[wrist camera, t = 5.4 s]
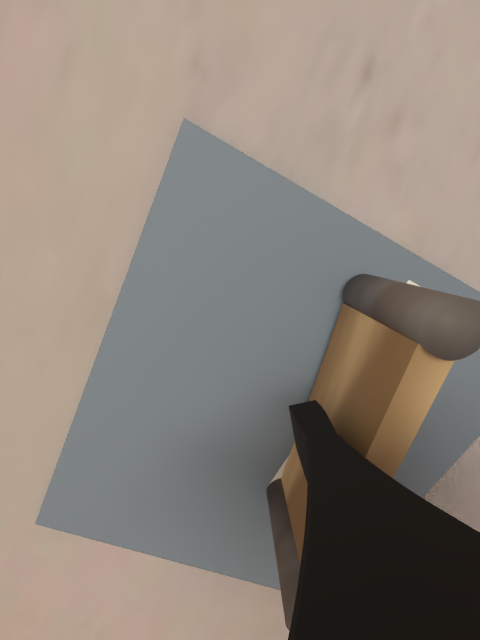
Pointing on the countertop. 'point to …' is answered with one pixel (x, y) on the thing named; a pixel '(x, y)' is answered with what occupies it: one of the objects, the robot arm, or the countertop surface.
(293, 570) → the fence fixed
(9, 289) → the countertop surface
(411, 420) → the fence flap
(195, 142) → the mat
